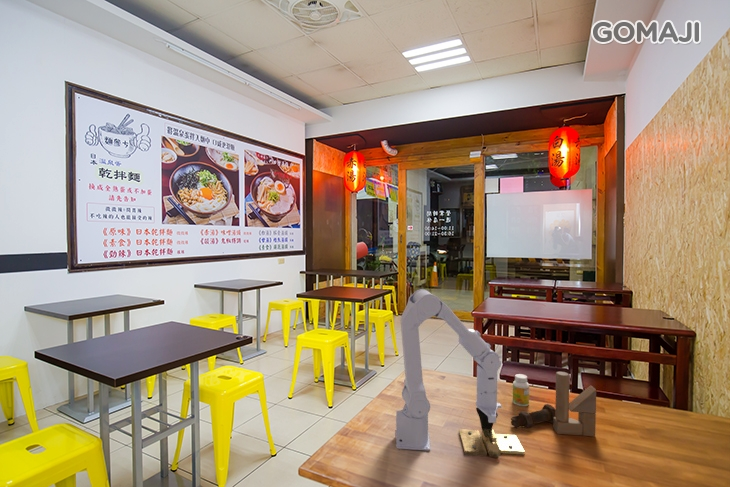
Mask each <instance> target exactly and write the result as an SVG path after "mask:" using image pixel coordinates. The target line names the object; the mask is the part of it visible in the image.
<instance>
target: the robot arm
mask: <svg viewBox="0 0 730 487" xmlns="http://www.w3.org/2000/svg"><path fill="white" fill-rule="evenodd" d="M433 317H436V318H437V319H442V320H443V321H444V322H445V323H446V324H447V325H448V326H449V327H450V328H451V329H452V330H453V331H454V332H455V333H456V334H457V335H458V342H459V344H460V345H461V346H462V347H463V348H464V350H465V351H467V352H468V354H469V355H470V356H471V357H472V358H473V360H474V362H475V363H477V364H476V401H475V407H476V408H475V410H476V412H477V413H476V414H477V415H478V418H479V421H480V427H481V430H482V429H493V427H494V424H496V423H497V418H498V415H499V414H498V413H497V412H498V409H501V408H502V404H501V403H500V402H498V370H499V369H500V368H501V366H502V360H501V358H500V356H499V354H497V353H496V352H495V351H494V350H492V349H491V347H492V345H491V344H490V343H489V342H486V341H485V340H484V339H483V338H482V337H481V335H482V334H481V333H480V332H479V331H478V330H475V329H473V328H467V327H466V325H465V324H464V322H462V321H461V319H460V318H459V317H458V316H457V315H456V314H455V313H454V312H453V310H452V309H451V307H449V306H448V305H447V304H446V303H445V302H443V301H442V300H440V298H439V297H438V296H437V295H436V294H432V293H431V292H430V291H429V290H427V289H424V288H421V289H418V290H415V291H414V292H413V293H412V294H411V295H410V296H409V297H408V300H407V303H406V306H405V308H404V310H403V312H402V314H401V316H400V320H399V321H400V331H401V343H402V355H403V365H404V366H403V367H404V368H403V369H404V377H405V379H404V380H403V388H402V391H401V397H402V399H403V401H404V406H403V407H402V409H400V410H396V411H395V412H396V416H395V417H396V421H395V423H396V424H395V432H394V437H395V440H396V442H395V443H396V444H395V446H396V449H398V450H399V449H400V450H413V451H414V450H415V451H431V443H430V436H429V435H430V434H429V413H430V409H431V403H430V400H429V399H428V396H427V395H426V394H427V393H426V392H427V391H426V388H425V385H424V379H423V367H422V357H421V356H422V355H421V344H420V333H419V327H420V326H421V325H422V324H423V323H424V322H425V321H427V320H428V319H431V318H433Z"/></svg>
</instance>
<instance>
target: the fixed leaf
mask: <svg viewBox="0 0 730 487" xmlns="http://www.w3.org/2000/svg"><path fill="white" fill-rule="evenodd" d="M479 430H480V429H479ZM479 430H478V429H477V430H476V429H465V428H464V429H460V428H459V429H458V434H459V437H460V441H461V445H462V448H463V453H464V455H468V456H481V457H482V456H485V457H486V456H487V455H489V456H490V457H491V458H493V459H497V458H499V457H500V456H501V454H502V453H501V451H500V449H499V446H498V444H497V442H496V440H495V439H493V438H489V439H487V440H486V442H485V445H486V448H485V446H484V444H483V441H482V435H481V433H480V431H479ZM487 453H488V454H487Z"/></svg>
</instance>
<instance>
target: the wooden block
mask: <svg viewBox="0 0 730 487" xmlns="http://www.w3.org/2000/svg"><path fill="white" fill-rule="evenodd" d="M554 408H555V417H553V424H552V426H553V427H552V428H553V430H554V431H555V432H556V434H558V435H571V436H584V437H596V416H597V414H596V413H597V390H596V388H595V387H594V386H592V385H591V384H590V385H589V386H588V387H587V388H585V389H584V390H583V391H582V392H580V393H579V395H577V396H576V397H574V399H572V400H571V401H570V374H569V373H568V372H565V371H556V372H555V407H554ZM570 412H573V413H578V417H577V419H575V418H572V417H569V415H570Z"/></svg>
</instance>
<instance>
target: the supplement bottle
mask: <svg viewBox="0 0 730 487" xmlns="http://www.w3.org/2000/svg"><path fill="white" fill-rule="evenodd" d="M512 402H513V404H514V405H516V406H520V407H527V406H529V404H530V384H529V382H528V376H527V375H526V374H522V373H517V374H515V375H514V381H512Z"/></svg>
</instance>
